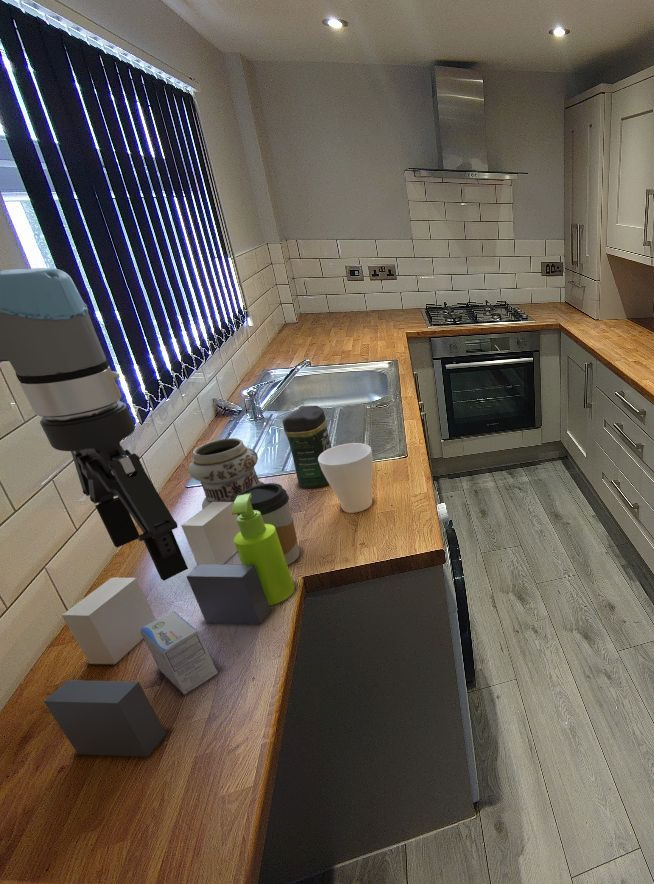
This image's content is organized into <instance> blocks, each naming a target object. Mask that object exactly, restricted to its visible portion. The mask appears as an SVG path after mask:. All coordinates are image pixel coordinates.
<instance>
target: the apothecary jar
mask: <svg viewBox="0 0 654 884" xmlns="http://www.w3.org/2000/svg"><path fill="white" fill-rule="evenodd" d="M192 456H193V460H192V461H191V462H190V464H189V466H188V471H187V472H188V475H189V476H190V477H191V478H192V479H194V480H196V481H198V482H200V484H201V487H202V489H203V492H204V496H205V497H204V499H203V500H202V503H201V510H202V509H204V508H205V507H206V506H208V505H209V504H210V503H212V502H233V504H234V501H235V499H236V497H237V496H238V494H239V493H241V492H242V491H244V490H246V489H248V488H251V487H253V486H257V485H260V484H266V483H264V482H263V481H261V480H260V479H259V477H258V473H257V472H256V469H255V466H256V465H257V463H258V461H259V456H258V453H257V452H256V451H255V450H254V449H252V448H251V447H248V446H246V445H245V444H244V442H243V440H242V439H239V438H235V437H229V438H228V437H227V438H221V439H216V440H212V441H209V442H206V443H204V444H202V445H199V446H197V447H195V448H194V449H193V451H192ZM237 516H239V515H238V514H237Z"/></svg>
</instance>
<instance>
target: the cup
mask: <svg viewBox="0 0 654 884" xmlns="http://www.w3.org/2000/svg"><path fill="white" fill-rule="evenodd" d="M331 447H332V448H330V449H327V450H326V451H324V452H323V453H321V454H320V455H319V457H318V462H319V464H320V467H321V470H322V472H323V474H324V476H325V478H326V479H327V481H328V483H329V484H328V485H329V486H330V487H331V489H332V491H333V492H334V495H335V496H336V498H337V500H338V501H339V504H340V506H341V509H342V510H343V512H345V513H348V514H354V513H355V514H356V513H359V512H362V511H365V510H367V509H369V508H370V507H371V506H372V504H373V498H372V488H373V487H372V485H373V484H372V483H373V477H374V476H373V475H374V459H373V451H372V447H371V446H370V445H368V444H367V443H361V442H350V443H349V442H348V443H343V444H339V445H338V444H337V445H335V446H331Z"/></svg>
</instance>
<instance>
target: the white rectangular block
mask: <svg viewBox="0 0 654 884" xmlns="http://www.w3.org/2000/svg"><path fill="white" fill-rule="evenodd" d="M61 617H62V618H63V621H64V622H65V624H66V625H67V627H68V629H69V631H70V632H71V634H72V636H73V638H74V639H75V641H76V643H77V644H78V647H79V648H80V650H81V651H82V653H83V656H84V657H85V658H86V660H87V662H88V664H89V665H116V664H117V663H118V662H120V661H121V659H122V658H124V657H125V656H126V655H127V654H128V653H129V652H131V650H133V648H135V647H136V646H137V645H138V644H139V643H140V642H141V641H142V640H144V639H143V636H142V634H141V632H140V629H142V628H143V627H145V626H147V625H148V624H150V623H152V622H154V621H155V620H157V618H156V616H155V614H154V612H153V609H152V607H151V606H150V603H149V601H148V599H147V597H146V595H145V593H144V591H143V589H142V587H141V585H140V582H139V581H138V578H137V577H110V578H109V579H107V580H106V581H105V582H104V583H102V584H101V585H99V586H98V587H96V589H94V590H93V591H92V592H90V593H89V594H88V595H86V596H85V597H84V598H83V599H81V600H79V601H78V602H77V603H75V604H74V605H73V606H72V607H71V608H69V609H68V610H67V611H65V612H64V613H62V614H61Z"/></svg>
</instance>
